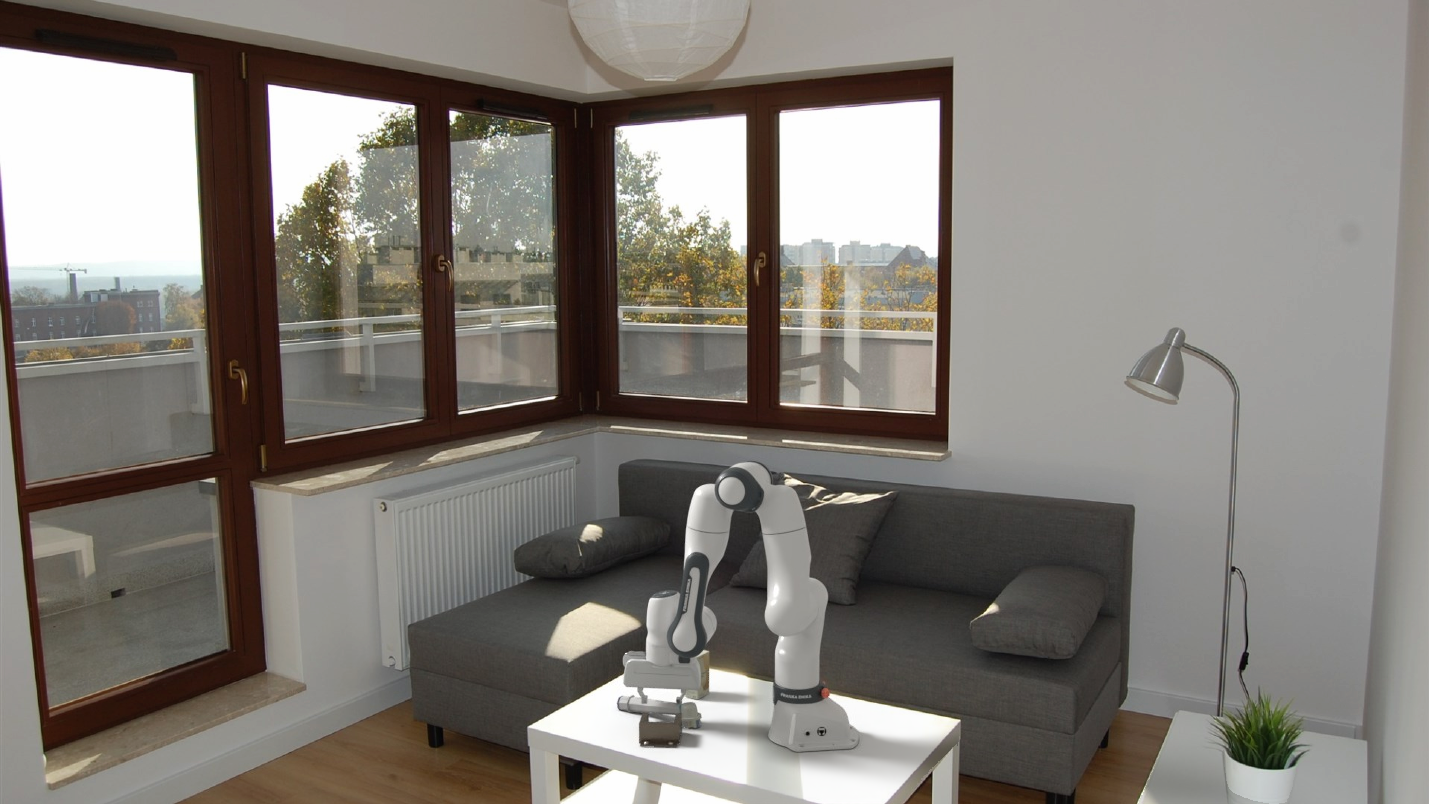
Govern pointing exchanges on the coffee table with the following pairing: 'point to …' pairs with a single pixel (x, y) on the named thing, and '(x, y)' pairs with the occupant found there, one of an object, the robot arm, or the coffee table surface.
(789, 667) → the robot arm
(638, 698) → the white handheld device
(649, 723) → the bracket
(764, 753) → the coffee table surface
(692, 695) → the skincare box
